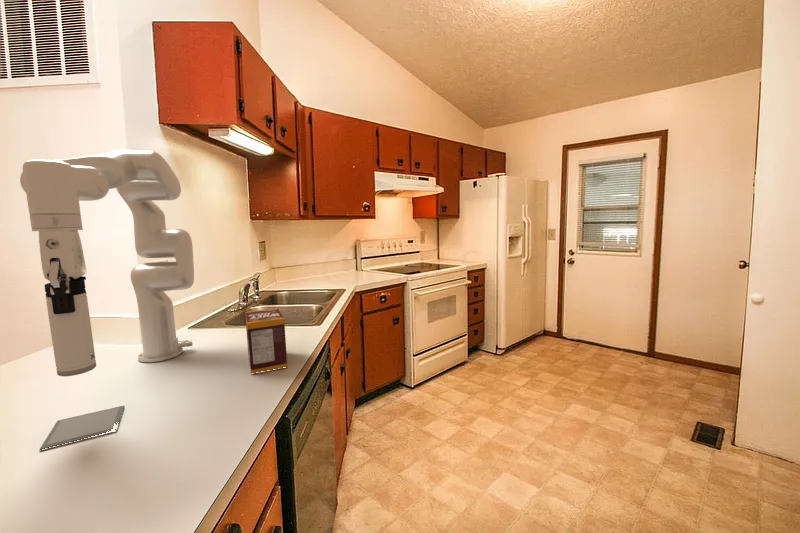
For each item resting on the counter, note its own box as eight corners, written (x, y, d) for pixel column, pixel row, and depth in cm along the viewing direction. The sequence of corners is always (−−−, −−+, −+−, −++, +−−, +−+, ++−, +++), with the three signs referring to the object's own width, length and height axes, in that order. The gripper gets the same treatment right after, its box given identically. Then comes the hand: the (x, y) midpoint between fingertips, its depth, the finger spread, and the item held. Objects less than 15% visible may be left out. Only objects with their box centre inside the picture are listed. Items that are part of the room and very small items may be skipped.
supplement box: (281, 352, 121) (278, 307, 119) (287, 368, 107) (284, 318, 105) (248, 357, 117) (244, 311, 115) (250, 375, 103) (246, 323, 101)
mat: (124, 407, 86) (124, 404, 86) (116, 431, 76) (116, 429, 76) (57, 422, 80) (57, 420, 80) (39, 451, 70) (39, 448, 70)
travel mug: (105, 365, 78) (93, 276, 76) (69, 378, 72) (55, 281, 70) (86, 362, 80) (74, 275, 78) (50, 374, 74) (35, 280, 72)
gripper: (70, 223, 67) (83, 315, 69) (90, 223, 81) (100, 299, 84) (14, 224, 63) (29, 322, 65) (45, 224, 78) (57, 304, 80)
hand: (69, 308), depth 74 cm, fingers closed on travel mug, 6 cm apart
